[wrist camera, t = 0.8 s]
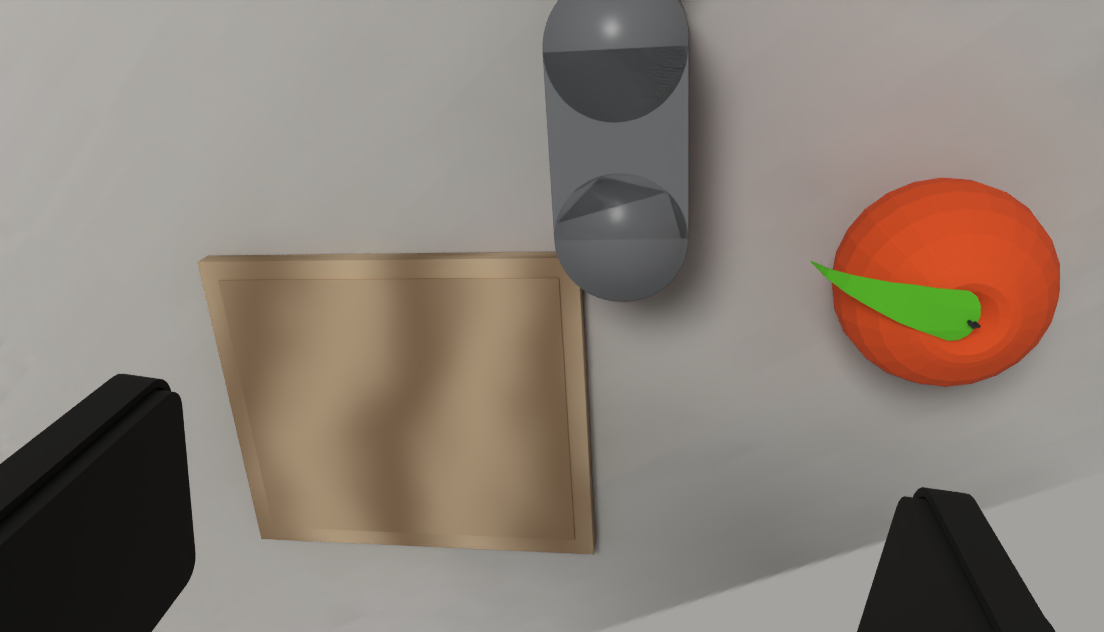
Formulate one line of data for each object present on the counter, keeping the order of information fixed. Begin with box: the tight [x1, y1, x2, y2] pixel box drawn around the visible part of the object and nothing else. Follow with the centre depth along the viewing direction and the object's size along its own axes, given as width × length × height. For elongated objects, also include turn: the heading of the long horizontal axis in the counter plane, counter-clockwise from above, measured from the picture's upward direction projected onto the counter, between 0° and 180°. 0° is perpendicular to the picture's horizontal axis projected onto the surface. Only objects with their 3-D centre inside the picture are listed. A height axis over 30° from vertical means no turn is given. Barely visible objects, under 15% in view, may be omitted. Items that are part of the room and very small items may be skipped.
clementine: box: [811, 178, 1060, 386], centre depth 28 cm, size 8×7×7 cm
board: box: [198, 252, 595, 554], centre depth 37 cm, size 16×14×1 cm
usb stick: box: [543, 0, 688, 302], centre depth 28 cm, size 13×4×5 cm, turn 4°
